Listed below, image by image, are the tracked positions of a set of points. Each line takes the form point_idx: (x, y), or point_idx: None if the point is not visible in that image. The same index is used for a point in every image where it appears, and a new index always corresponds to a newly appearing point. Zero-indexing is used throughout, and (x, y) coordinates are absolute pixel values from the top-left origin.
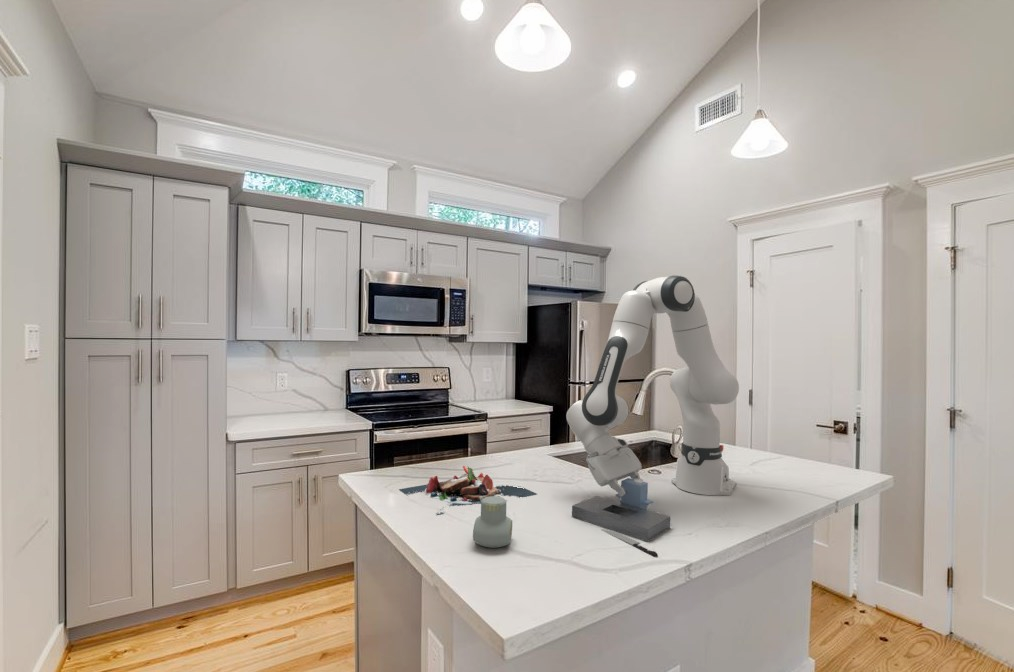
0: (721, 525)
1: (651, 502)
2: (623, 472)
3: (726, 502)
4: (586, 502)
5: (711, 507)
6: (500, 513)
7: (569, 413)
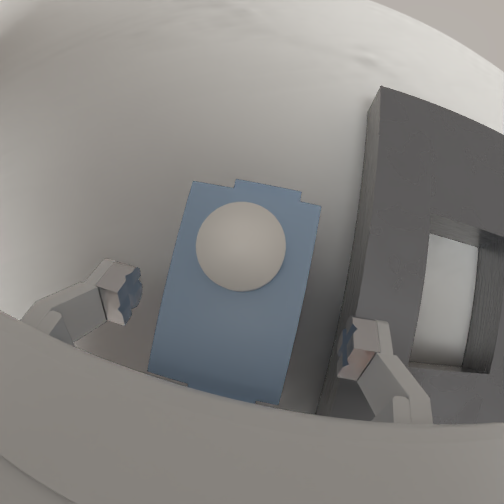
0: (227, 11)
1: (257, 185)
2: (250, 419)
3: (25, 66)
4: None
5: (71, 69)
6: None
7: None
